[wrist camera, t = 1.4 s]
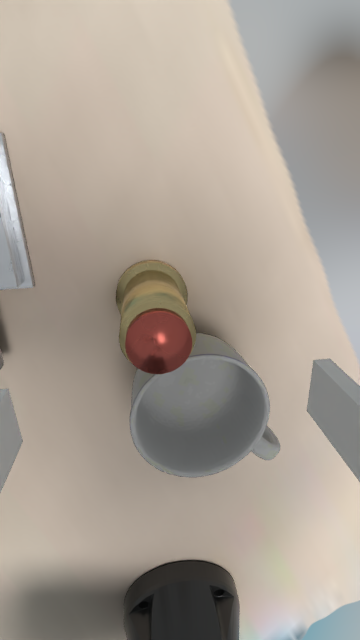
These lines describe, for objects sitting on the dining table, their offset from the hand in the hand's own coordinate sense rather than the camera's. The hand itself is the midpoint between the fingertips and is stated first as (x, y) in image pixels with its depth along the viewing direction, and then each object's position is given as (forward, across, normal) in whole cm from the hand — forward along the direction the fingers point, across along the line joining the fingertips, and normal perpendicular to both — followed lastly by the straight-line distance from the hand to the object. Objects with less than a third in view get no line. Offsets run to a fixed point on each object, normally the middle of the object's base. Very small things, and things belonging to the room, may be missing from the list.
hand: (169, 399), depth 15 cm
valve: (+16, 0, 0) cm, 16 cm away
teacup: (+16, -4, +9) cm, 19 cm away
